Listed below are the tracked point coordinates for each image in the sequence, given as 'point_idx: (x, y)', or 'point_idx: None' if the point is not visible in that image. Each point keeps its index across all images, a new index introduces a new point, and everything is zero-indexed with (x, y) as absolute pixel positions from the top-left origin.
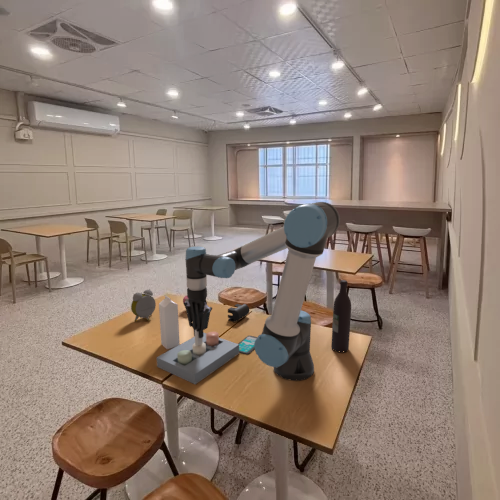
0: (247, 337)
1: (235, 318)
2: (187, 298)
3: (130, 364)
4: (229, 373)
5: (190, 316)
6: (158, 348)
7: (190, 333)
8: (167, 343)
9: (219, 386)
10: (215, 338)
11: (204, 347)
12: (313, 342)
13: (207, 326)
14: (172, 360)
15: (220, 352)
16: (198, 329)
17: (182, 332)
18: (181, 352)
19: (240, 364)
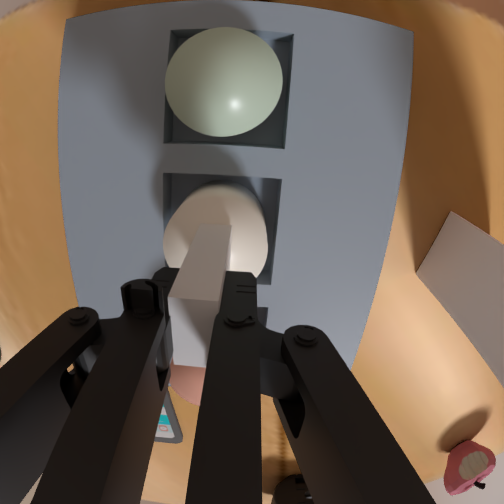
0: (172, 433)
1: (288, 487)
2: (484, 471)
3: (492, 32)
4: (33, 195)
5: (333, 462)
6: (485, 200)
7: (415, 369)
8: (465, 226)
9: (12, 97)
10: (172, 359)
11: (165, 247)
12: None
13: (71, 378)
14: (295, 35)
15: (99, 277)
16: (142, 310)
17: (448, 357)
18: (257, 81)
19: (49, 276)
